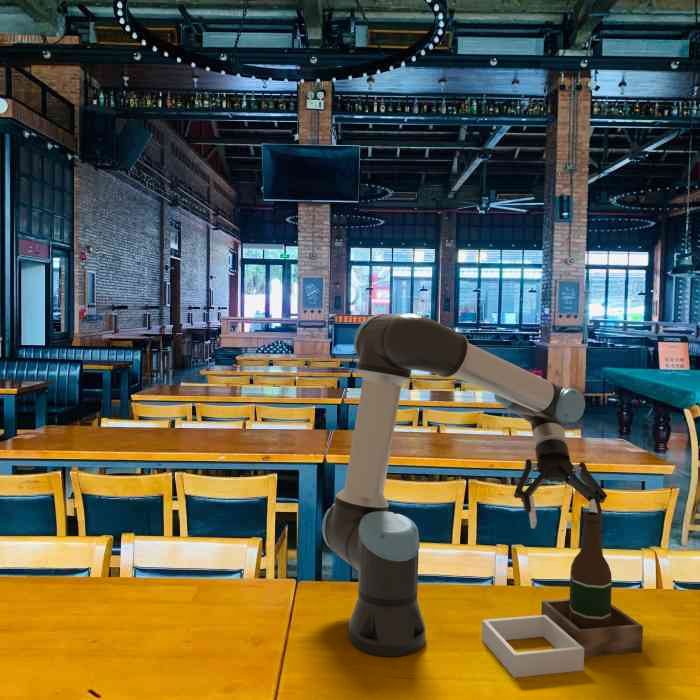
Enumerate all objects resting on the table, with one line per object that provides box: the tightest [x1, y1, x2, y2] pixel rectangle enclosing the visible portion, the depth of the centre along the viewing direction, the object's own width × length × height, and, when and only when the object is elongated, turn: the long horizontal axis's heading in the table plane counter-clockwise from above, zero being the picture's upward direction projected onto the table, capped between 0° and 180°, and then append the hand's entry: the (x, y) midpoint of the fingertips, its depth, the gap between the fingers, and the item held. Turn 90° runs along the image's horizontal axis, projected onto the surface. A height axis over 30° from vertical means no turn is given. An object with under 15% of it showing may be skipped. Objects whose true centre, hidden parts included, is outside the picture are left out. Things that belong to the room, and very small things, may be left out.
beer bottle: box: [569, 511, 613, 629], centre depth 125 cm, size 8×8×24 cm
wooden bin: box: [540, 598, 644, 659], centre depth 125 cm, size 14×14×5 cm
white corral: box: [481, 614, 585, 679], centre depth 118 cm, size 14×14×4 cm
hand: (565, 527), depth 137 cm, fingers open, 13 cm apart
